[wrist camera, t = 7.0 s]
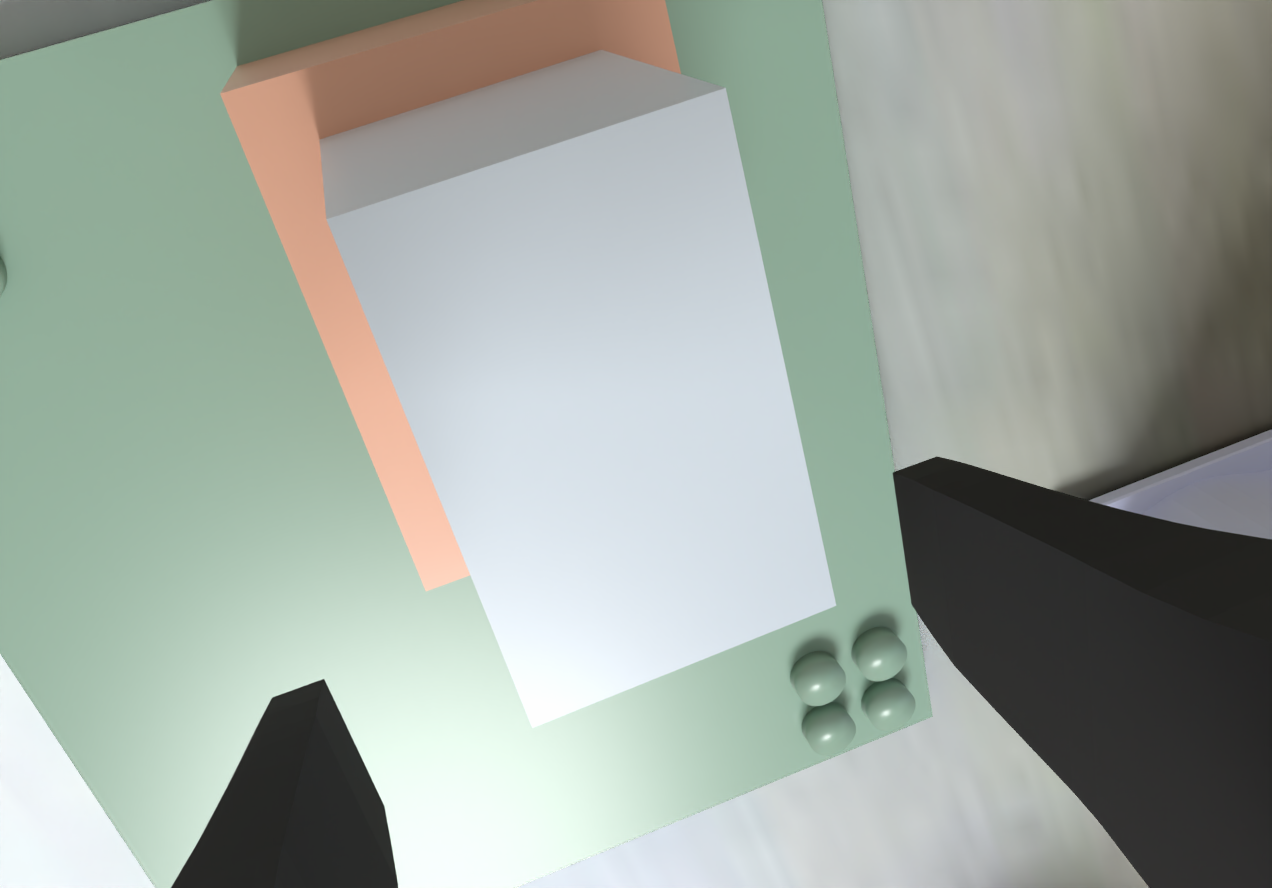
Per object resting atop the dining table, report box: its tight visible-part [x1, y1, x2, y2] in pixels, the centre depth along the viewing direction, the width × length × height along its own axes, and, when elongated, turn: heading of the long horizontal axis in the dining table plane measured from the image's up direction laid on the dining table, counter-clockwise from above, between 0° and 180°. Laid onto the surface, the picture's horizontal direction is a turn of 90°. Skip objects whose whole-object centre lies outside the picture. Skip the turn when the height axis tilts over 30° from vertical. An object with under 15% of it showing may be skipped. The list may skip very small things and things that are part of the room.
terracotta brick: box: [220, 0, 681, 591], centre depth 18 cm, size 6×8×4 cm
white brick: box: [319, 50, 836, 728], centre depth 14 cm, size 4×6×5 cm, turn 15°
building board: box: [0, 0, 932, 888], centre depth 22 cm, size 18×20×2 cm
